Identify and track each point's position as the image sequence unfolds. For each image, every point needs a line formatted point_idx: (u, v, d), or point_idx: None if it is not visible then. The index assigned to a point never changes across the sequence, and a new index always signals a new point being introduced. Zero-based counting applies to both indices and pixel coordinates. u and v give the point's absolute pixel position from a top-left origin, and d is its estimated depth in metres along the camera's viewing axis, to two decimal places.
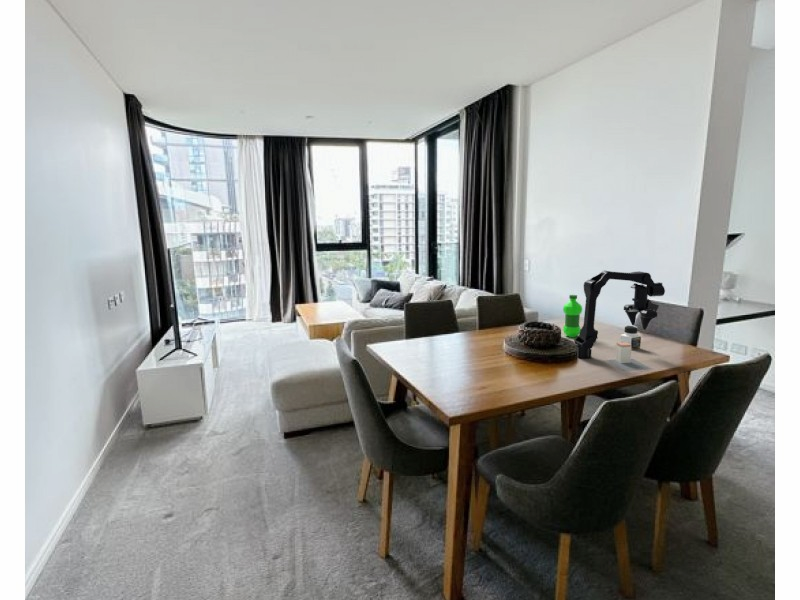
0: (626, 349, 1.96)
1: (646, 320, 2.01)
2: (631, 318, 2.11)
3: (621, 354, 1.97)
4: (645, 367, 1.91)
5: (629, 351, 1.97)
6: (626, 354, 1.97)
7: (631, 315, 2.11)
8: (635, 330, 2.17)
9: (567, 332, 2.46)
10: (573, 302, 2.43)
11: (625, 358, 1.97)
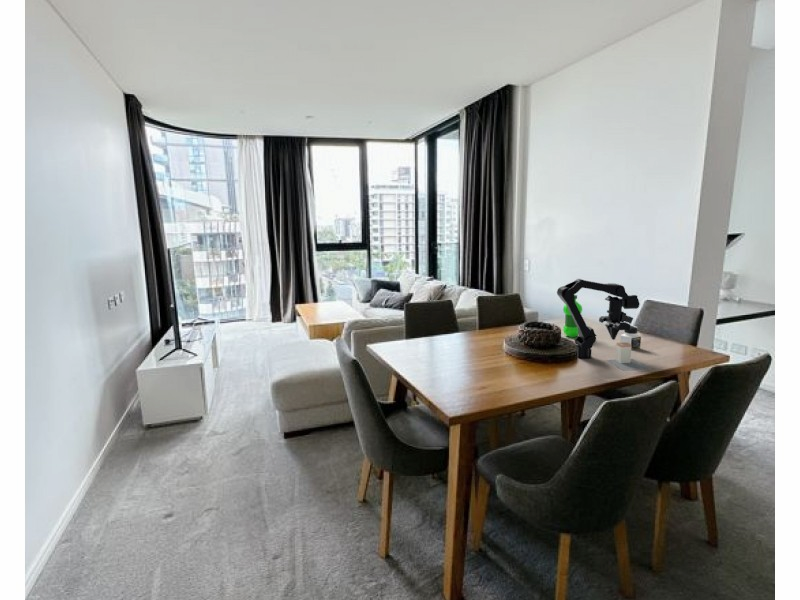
0: (626, 349, 1.96)
1: (615, 330, 2.05)
2: None
3: (621, 354, 1.97)
4: (645, 367, 1.91)
5: (629, 351, 1.97)
6: (626, 354, 1.97)
7: None
8: (635, 330, 2.17)
9: (567, 332, 2.46)
10: None
11: (625, 358, 1.97)
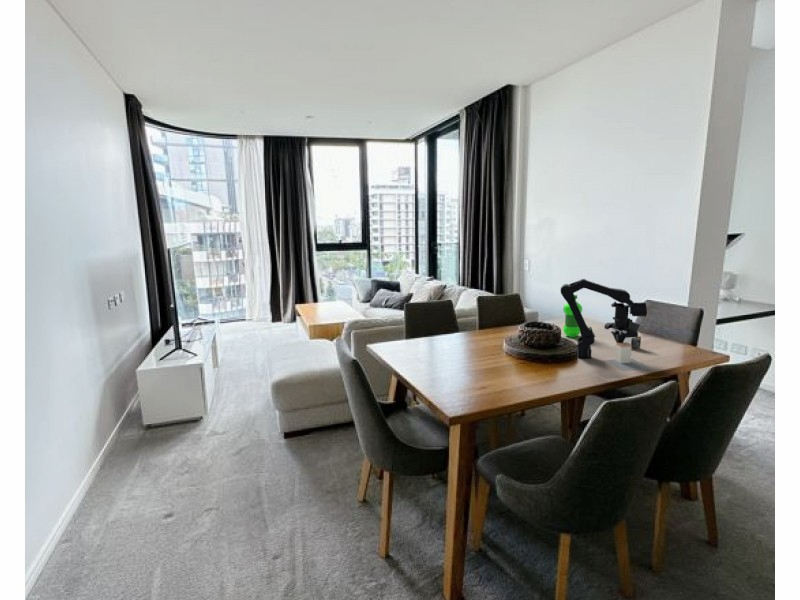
0: (626, 349, 1.96)
1: (621, 337, 2.00)
2: None
3: (621, 354, 1.97)
4: (645, 367, 1.91)
5: (629, 351, 1.97)
6: (626, 354, 1.97)
7: None
8: (635, 330, 2.17)
9: (567, 332, 2.46)
10: None
11: (625, 358, 1.97)
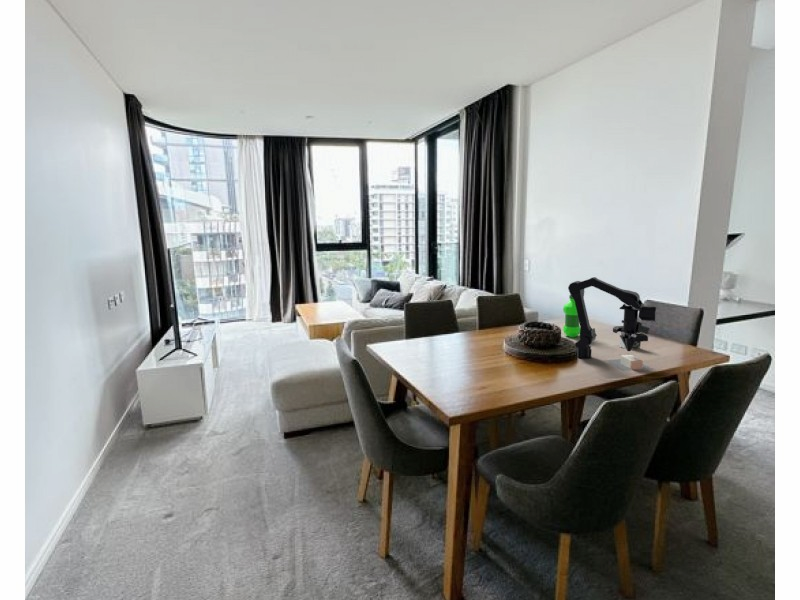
0: None
1: (630, 341, 1.92)
2: None
3: (626, 365, 1.93)
4: (645, 367, 1.91)
5: None
6: None
7: None
8: None
9: (567, 332, 2.46)
10: (573, 302, 2.43)
11: None
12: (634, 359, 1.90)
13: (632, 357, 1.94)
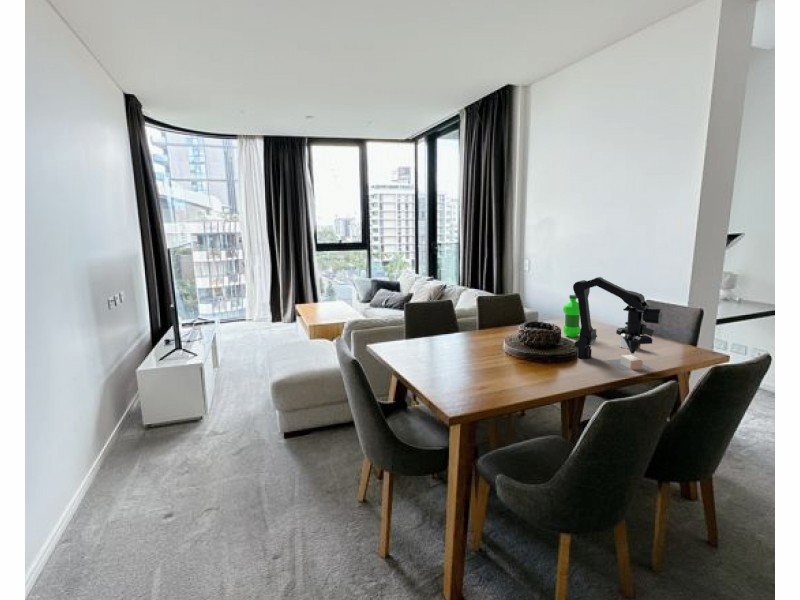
0: None
1: (634, 344, 1.89)
2: None
3: (626, 365, 1.93)
4: (645, 367, 1.91)
5: None
6: None
7: None
8: None
9: (567, 332, 2.46)
10: (573, 302, 2.43)
11: None
12: (634, 359, 1.90)
13: (632, 357, 1.94)
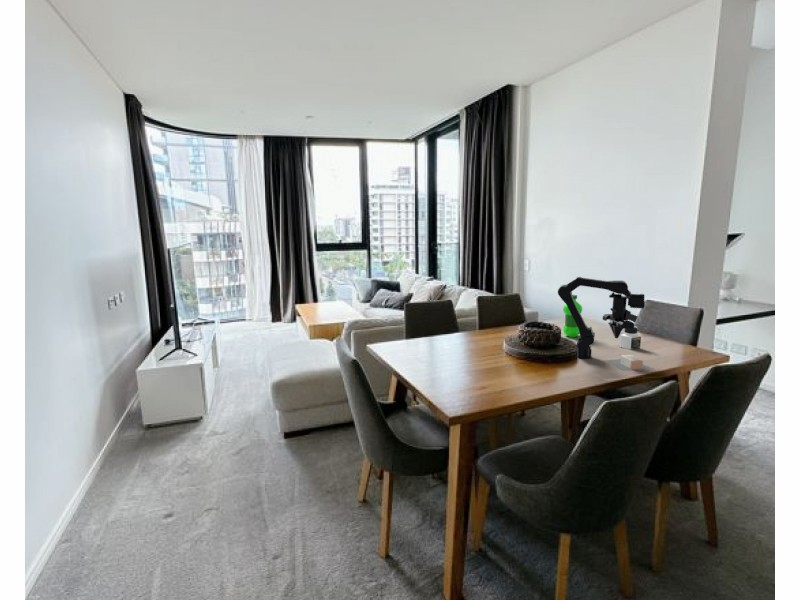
0: None
1: (618, 329, 1.98)
2: None
3: (626, 365, 1.93)
4: (645, 367, 1.91)
5: None
6: None
7: None
8: (635, 330, 2.17)
9: (567, 332, 2.46)
10: None
11: None
12: (634, 359, 1.90)
13: (632, 357, 1.94)
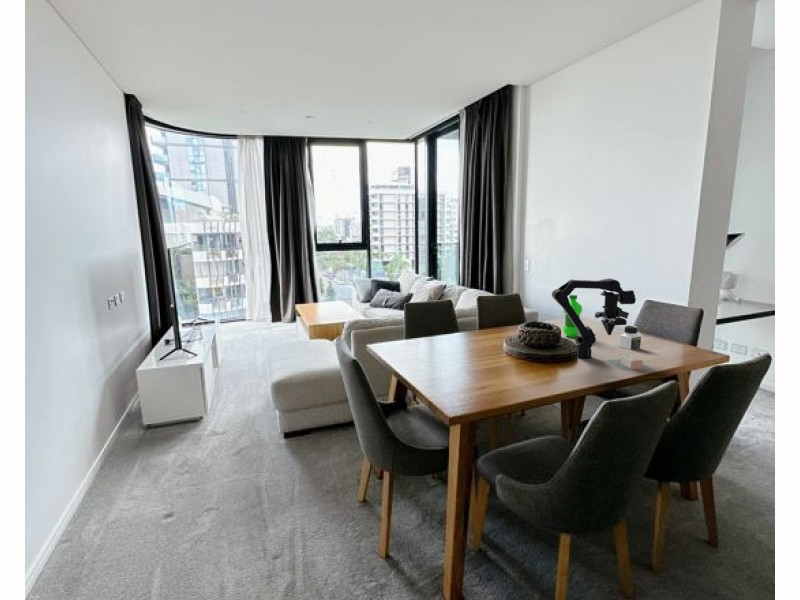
0: None
1: (611, 326, 2.03)
2: None
3: (626, 365, 1.93)
4: (645, 367, 1.91)
5: None
6: None
7: None
8: (635, 330, 2.17)
9: (567, 332, 2.46)
10: (573, 302, 2.43)
11: None
12: (634, 359, 1.90)
13: (632, 357, 1.94)
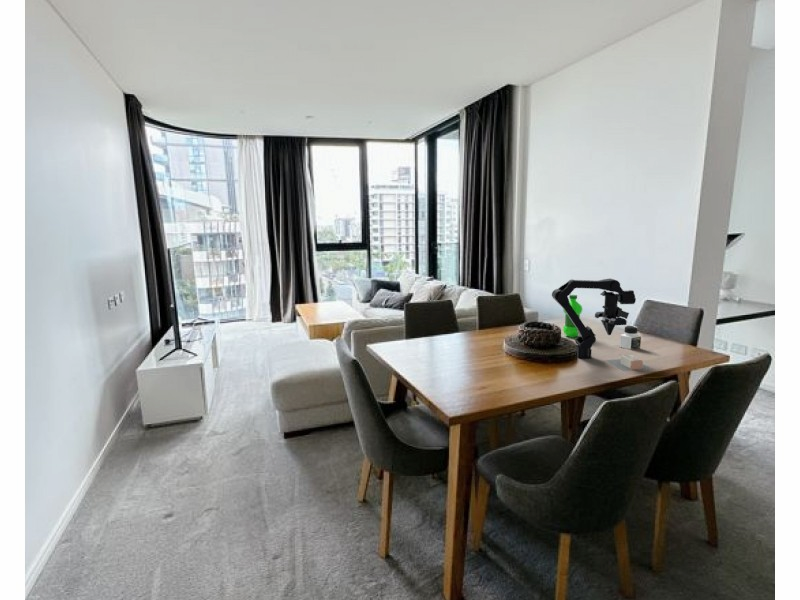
0: None
1: (611, 326, 2.03)
2: None
3: (626, 365, 1.93)
4: (645, 367, 1.91)
5: None
6: None
7: None
8: (635, 330, 2.17)
9: (567, 332, 2.46)
10: (573, 302, 2.43)
11: None
12: (634, 359, 1.90)
13: (632, 357, 1.94)
